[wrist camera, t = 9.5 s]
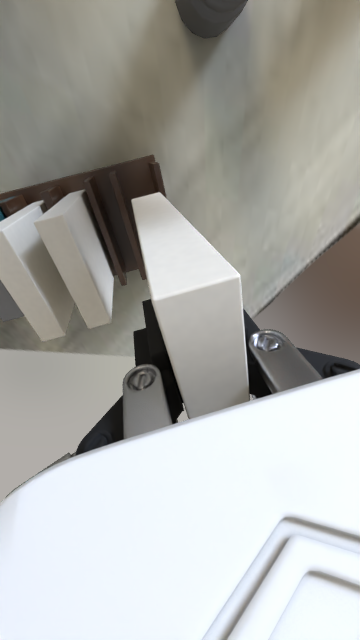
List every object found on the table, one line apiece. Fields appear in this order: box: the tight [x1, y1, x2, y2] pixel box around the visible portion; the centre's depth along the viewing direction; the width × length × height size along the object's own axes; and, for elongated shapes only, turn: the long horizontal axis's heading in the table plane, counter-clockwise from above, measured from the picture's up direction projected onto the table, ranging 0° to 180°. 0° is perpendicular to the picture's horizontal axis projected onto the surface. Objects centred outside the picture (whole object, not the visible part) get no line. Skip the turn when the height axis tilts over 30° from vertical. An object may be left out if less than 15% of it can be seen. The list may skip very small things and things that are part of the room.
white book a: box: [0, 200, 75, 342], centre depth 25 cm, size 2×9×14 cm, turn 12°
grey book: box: [0, 280, 25, 322], centre depth 27 cm, size 2×9×8 cm, turn 12°
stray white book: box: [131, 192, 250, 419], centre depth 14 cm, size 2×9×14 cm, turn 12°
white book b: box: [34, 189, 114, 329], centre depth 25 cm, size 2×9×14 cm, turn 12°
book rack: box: [0, 155, 167, 286], centre depth 28 cm, size 30×12×9 cm, turn 102°
